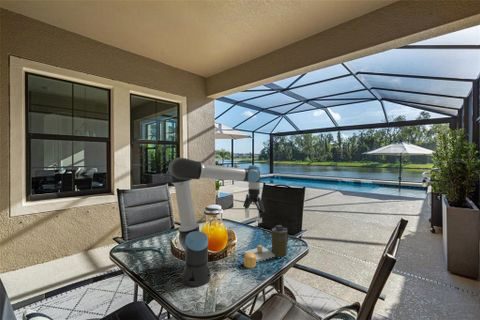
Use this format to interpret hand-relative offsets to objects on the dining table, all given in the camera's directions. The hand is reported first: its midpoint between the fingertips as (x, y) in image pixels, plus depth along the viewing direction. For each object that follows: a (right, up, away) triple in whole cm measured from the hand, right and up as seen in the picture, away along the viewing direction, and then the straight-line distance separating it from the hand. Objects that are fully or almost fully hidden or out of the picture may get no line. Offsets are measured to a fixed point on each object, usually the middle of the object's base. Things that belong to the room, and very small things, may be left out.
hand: (253, 220), depth 148 cm
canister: (+17, -24, 0) cm, 30 cm away
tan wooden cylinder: (-3, -23, -14) cm, 27 cm away
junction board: (+4, -23, -1) cm, 24 cm away
